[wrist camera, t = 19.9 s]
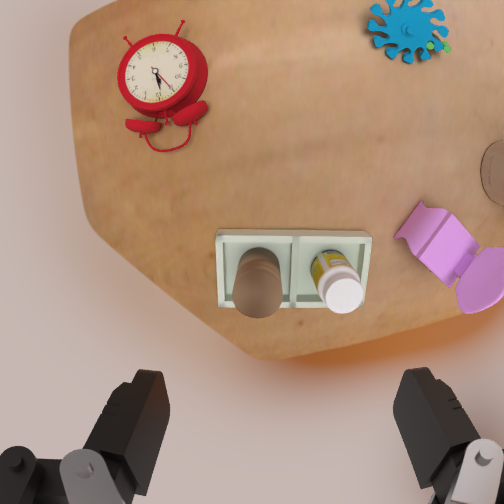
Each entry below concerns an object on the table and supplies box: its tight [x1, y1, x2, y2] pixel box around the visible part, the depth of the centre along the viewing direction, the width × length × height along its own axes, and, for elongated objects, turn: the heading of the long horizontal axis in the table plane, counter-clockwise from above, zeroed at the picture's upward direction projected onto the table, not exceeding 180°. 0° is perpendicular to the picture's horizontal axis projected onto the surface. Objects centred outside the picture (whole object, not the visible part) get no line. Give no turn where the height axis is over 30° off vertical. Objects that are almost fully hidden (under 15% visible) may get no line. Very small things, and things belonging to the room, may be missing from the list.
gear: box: [367, 0, 451, 63], centre depth 27 cm, size 11×6×10 cm
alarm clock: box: [117, 20, 208, 152], centre depth 31 cm, size 10×6×15 cm
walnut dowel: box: [232, 247, 283, 318], centre depth 35 cm, size 5×5×8 cm
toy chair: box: [394, 200, 504, 314], centre depth 31 cm, size 8×9×15 cm
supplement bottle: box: [310, 249, 363, 314], centre depth 35 cm, size 5×5×8 cm
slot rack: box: [215, 229, 372, 308], centre depth 39 cm, size 18×9×3 cm, turn 90°
